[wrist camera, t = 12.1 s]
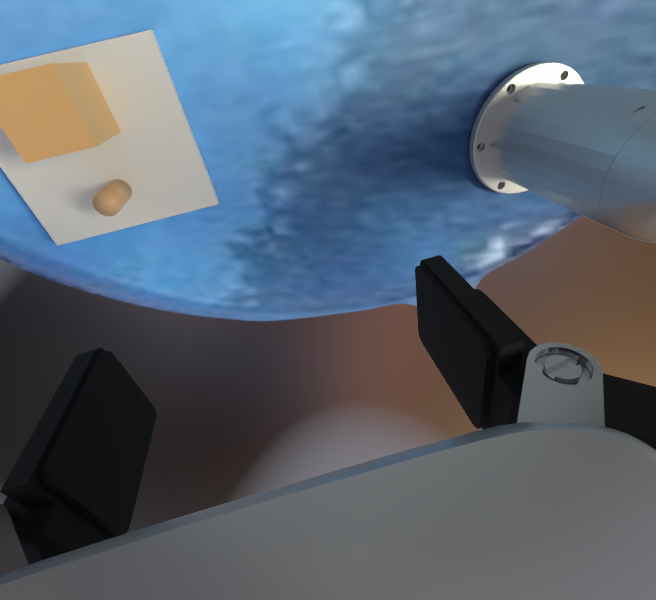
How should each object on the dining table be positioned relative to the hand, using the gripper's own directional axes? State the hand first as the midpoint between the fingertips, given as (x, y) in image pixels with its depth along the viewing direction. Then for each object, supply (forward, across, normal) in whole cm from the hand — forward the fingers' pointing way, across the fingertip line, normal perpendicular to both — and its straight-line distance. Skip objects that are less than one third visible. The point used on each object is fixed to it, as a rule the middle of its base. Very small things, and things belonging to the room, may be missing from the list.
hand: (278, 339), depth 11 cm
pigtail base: (+28, +13, -3) cm, 31 cm away
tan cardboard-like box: (+27, +13, -6) cm, 31 cm away
